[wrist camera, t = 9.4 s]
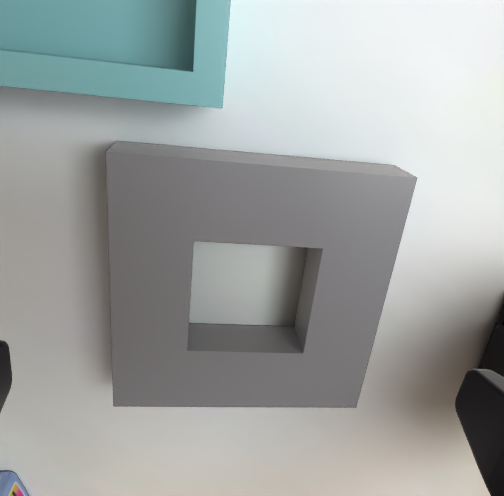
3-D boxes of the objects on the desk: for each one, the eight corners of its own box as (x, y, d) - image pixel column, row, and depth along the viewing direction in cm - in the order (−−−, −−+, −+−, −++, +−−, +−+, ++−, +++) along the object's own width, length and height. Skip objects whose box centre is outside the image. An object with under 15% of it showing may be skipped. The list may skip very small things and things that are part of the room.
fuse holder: (394, 165, 19) (417, 177, 17) (343, 378, 24) (356, 407, 22) (117, 140, 17) (105, 151, 15) (121, 374, 22) (113, 406, 20)
